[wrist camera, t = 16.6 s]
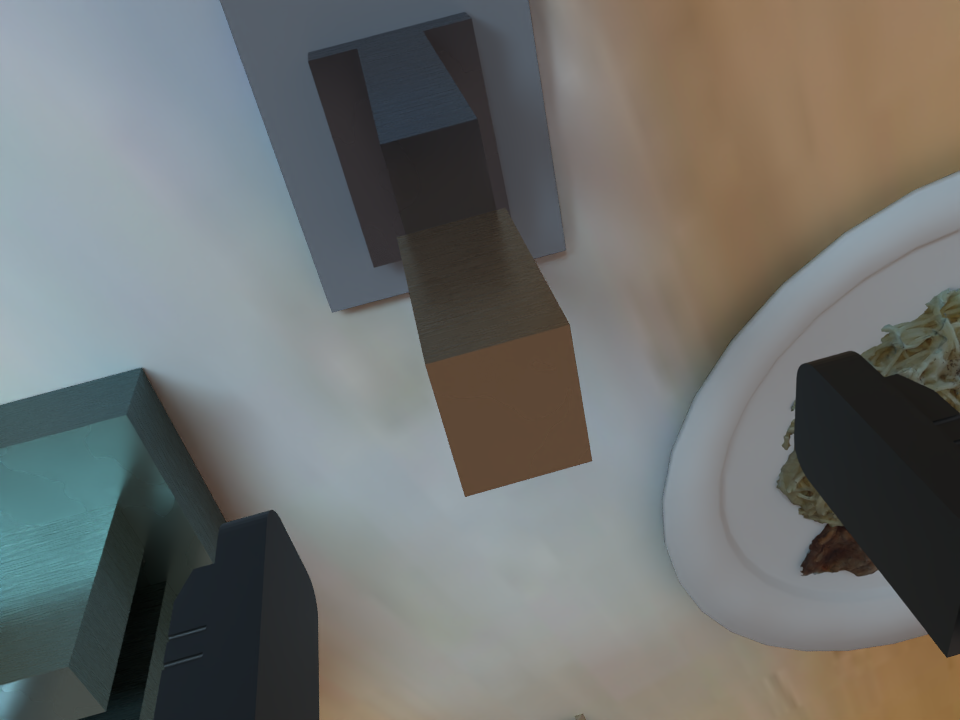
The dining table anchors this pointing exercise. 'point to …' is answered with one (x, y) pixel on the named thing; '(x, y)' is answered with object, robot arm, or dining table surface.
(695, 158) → the dining table surface
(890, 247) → the plated food
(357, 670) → the dining table surface
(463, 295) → the brown and black post
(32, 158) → the dining table surface
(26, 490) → the vise
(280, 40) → the slate pad
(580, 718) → the woven mat
